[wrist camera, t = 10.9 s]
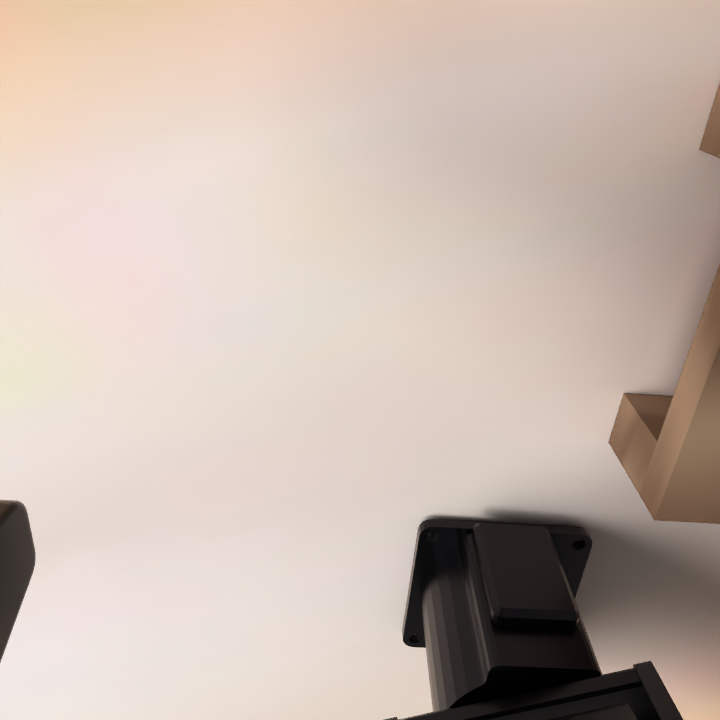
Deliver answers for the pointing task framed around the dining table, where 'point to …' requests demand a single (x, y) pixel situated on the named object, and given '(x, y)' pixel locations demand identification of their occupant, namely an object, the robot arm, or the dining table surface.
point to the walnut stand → (680, 417)
